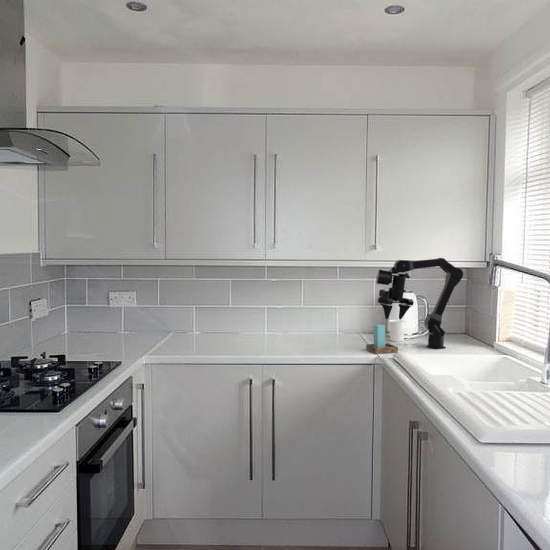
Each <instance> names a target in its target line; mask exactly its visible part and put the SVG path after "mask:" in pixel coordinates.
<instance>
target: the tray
mask: <svg viewBox="0 0 550 550" xmlns="http://www.w3.org/2000/svg"><path fill="white" fill-rule="evenodd" d="M365 350H366V351H369V352H370V353H373V354H374V355H380V354H381V355H385V354H398V353H399V347H398V346H397V345H394V344H391V343H389V342H385V348H376V347H374V343H365Z"/></svg>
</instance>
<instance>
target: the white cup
mask: <svg viewBox="0 0 550 550" xmlns="http://www.w3.org/2000/svg"><path fill="white" fill-rule="evenodd" d="M405 326H406V321H405V320H402V319H390V320H388V330H389V331H388V332H389V341H391V342H395V343H396V342H398V343H401V342H403V341H404V338H405V330H406V328H405Z"/></svg>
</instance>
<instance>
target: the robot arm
mask: <svg viewBox="0 0 550 550" xmlns="http://www.w3.org/2000/svg"><path fill="white" fill-rule="evenodd" d="M435 267H436V268H438V267H439V268H440V269H441V270H442V271H444V273H446V275H445V283H444V286H443V288H442V291H441V293H440V295H439V297H438V299H437V302H436V303H435V305H434V308H433V310H432V312H431V313H430V314H429V313H427V314H426V317H425V318H424V320H423V321H424V325H423V326H424V328H425V329H426V330H427V331H428V333H429V334H428V337H427V338H428V339H427V341H428V342H427V345H426V347H427V348H430V349H433V350H439V349H446V348H447V347H446V346H444V341H445V340H444V337H445V333H446V331H445V330H444V329H443V328H442V327H441V325H442V320H443V319H442V317H443V314H444V311H445V309H446V307H447V305H448V303H449V301H450V298H451V297H452V293H453V291H454V289H455V287H457V285H458V284H459V283H460V282H461V280H462V279H463V278H464V272H463V270H462V269H461V268H459V267H456V266H454V265H453V264H452V263H450V262H449V261H447V260H446V259H445V258H444V257H438V258H429V259H420V260H407V259H406V260H405V259H398V260H396V261H395V262H394V264H393V267H391V269H389V270H384V269H378V272H377V275H376V279H375V280H376V281H375V283H376V285H382V286H389V285H390V284H391V287H389V288H388V290H386V289H384V288H383V289H379V291H378V295H379V297H378V298H377V303H378V304H379V305H381V307H382V309H383V312H384V313H383V314H384V318H385V320H388V319H389V318H390V314H391V313H392V309H393V304H397V305H398V307H399V311H398V312H399V313H398V320H402V319H403V318H404V316H405V314H406V313H407V312H408V311H409V309H410V308H412V306H414V304H415V303H414V299H410V298H407V297H404V293H406V291H407V290H406V289H405V284H406V280H407V279H411V276H410V275H409V273H408V272H410V271H414V270H416V269H417V270H419V269H426V268H427V269H428V268H435Z"/></svg>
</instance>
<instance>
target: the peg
mask: <svg viewBox="0 0 550 550" xmlns="http://www.w3.org/2000/svg"><path fill="white" fill-rule="evenodd" d="M385 343H386V325H384V324H382V323H381V324H374V325H373V344H374V347H376V348H385Z"/></svg>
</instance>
